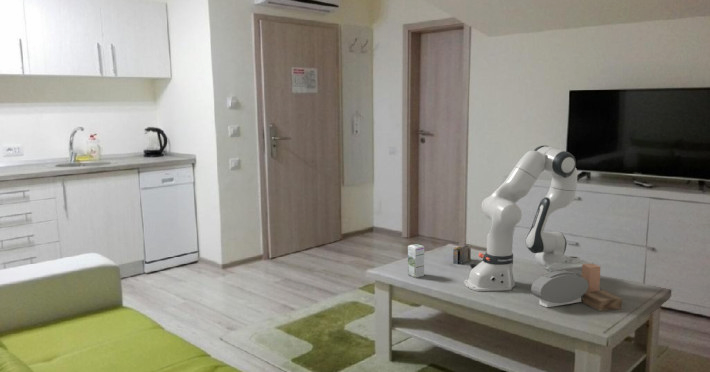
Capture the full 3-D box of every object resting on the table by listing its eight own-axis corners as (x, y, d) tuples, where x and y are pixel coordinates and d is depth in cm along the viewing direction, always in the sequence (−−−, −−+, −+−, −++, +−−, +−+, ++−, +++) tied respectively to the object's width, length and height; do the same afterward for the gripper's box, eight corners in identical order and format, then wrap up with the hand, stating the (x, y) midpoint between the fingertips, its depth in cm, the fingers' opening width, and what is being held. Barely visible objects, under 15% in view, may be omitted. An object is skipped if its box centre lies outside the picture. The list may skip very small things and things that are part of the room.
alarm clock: (578, 297, 225) (577, 266, 224) (589, 300, 219) (588, 269, 218) (531, 304, 217) (530, 273, 217) (541, 308, 212) (540, 276, 211)
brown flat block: (458, 265, 273) (458, 246, 272) (453, 264, 276) (453, 245, 274) (471, 260, 281) (471, 242, 280) (466, 259, 283) (466, 241, 282)
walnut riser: (599, 311, 210) (600, 301, 209) (582, 302, 220) (583, 292, 219) (621, 308, 212) (621, 298, 212) (603, 299, 222) (604, 290, 221)
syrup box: (424, 275, 256) (424, 245, 254) (415, 278, 252) (415, 247, 250) (416, 272, 260) (416, 243, 258) (407, 275, 257) (407, 245, 255)
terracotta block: (588, 297, 224) (590, 267, 222) (580, 294, 229) (582, 264, 227) (598, 296, 225) (600, 266, 224) (590, 292, 230) (592, 263, 228)
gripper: (541, 260, 242) (560, 269, 229) (581, 256, 247) (602, 264, 234) (541, 273, 243) (560, 283, 230) (580, 269, 248) (601, 279, 235)
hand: (581, 274), depth 232 cm, fingers open, 8 cm apart
